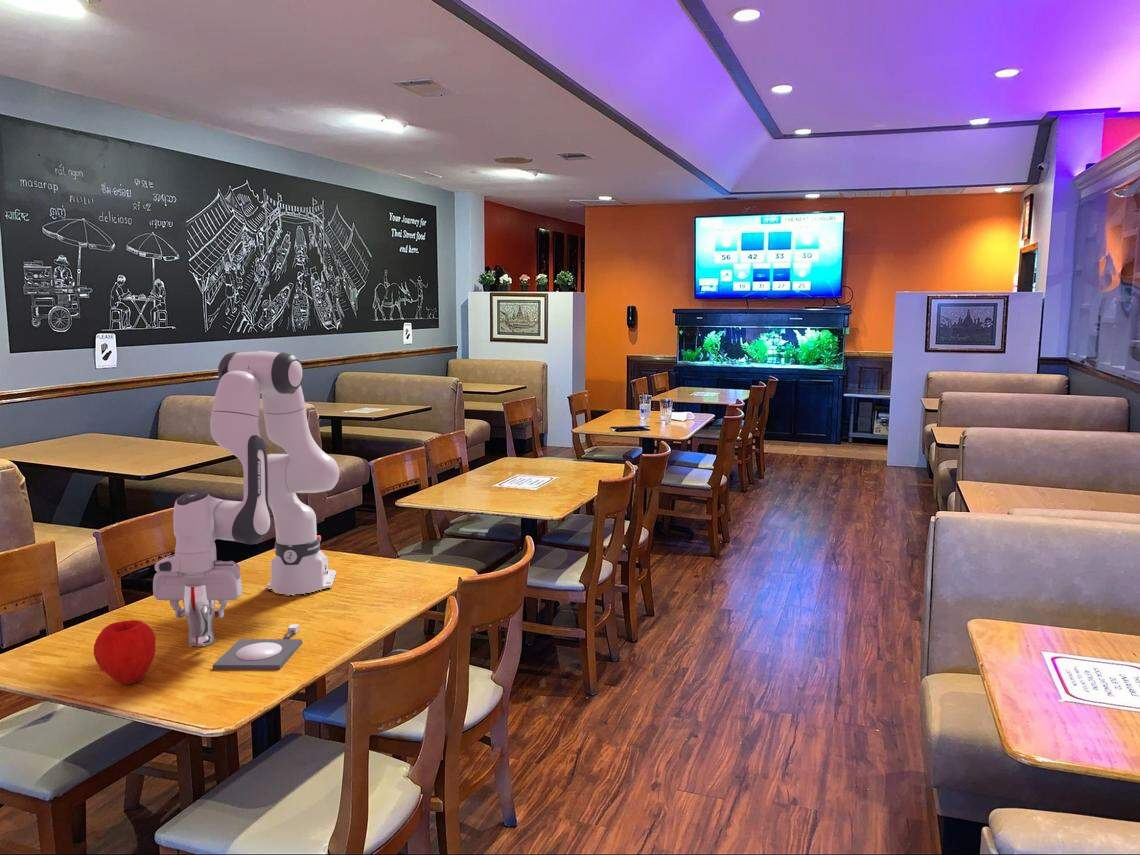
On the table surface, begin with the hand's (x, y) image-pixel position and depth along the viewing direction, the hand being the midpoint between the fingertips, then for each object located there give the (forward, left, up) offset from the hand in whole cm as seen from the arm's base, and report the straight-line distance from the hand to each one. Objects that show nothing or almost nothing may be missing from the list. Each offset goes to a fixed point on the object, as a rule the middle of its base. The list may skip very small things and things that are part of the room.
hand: (200, 617), depth 203 cm
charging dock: (+4, +17, -6) cm, 18 cm away
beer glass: (0, 0, -7) cm, 7 cm away
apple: (+22, -6, -7) cm, 24 cm away
